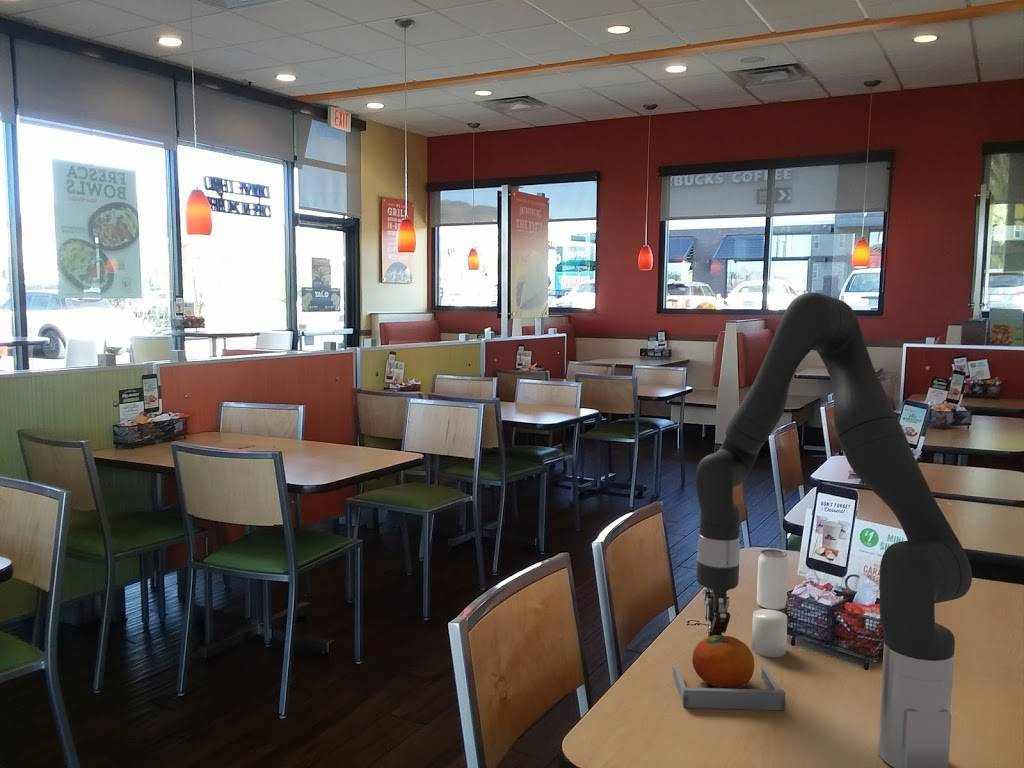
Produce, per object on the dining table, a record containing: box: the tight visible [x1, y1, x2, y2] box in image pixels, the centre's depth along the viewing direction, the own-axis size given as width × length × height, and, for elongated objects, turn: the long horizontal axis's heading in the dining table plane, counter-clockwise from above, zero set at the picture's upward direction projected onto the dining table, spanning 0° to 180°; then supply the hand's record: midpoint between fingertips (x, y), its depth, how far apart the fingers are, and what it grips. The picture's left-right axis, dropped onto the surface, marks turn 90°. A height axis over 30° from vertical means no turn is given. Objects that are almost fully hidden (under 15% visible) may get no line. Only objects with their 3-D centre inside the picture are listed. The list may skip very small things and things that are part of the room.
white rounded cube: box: [751, 608, 788, 658], centre depth 160 cm, size 6×6×7 cm
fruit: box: [691, 634, 755, 689], centre depth 145 cm, size 11×10×8 cm
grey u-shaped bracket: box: [672, 664, 786, 711], centre depth 143 cm, size 12×17×3 cm
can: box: [756, 548, 790, 611], centre depth 183 cm, size 6×6×12 cm
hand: (714, 649), depth 153 cm, fingers closed
